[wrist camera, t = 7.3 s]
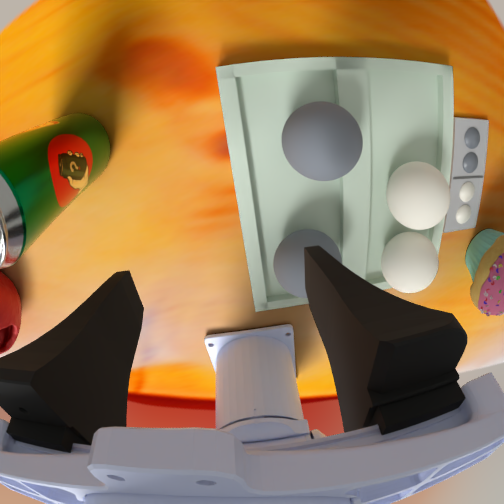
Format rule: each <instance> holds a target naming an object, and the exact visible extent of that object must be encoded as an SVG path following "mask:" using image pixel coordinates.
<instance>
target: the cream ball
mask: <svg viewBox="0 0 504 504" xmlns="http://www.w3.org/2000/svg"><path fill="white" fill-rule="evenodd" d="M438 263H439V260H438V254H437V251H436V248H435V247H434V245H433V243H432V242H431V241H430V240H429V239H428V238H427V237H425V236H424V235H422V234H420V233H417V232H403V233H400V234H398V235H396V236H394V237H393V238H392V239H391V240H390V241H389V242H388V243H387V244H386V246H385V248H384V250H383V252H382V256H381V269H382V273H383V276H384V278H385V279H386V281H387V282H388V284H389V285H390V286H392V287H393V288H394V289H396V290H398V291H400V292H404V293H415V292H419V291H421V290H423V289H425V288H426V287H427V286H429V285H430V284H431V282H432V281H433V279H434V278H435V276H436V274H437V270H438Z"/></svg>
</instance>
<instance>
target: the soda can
mask: <svg viewBox="0 0 504 504" xmlns="http://www.w3.org/2000/svg"><path fill="white" fill-rule="evenodd" d="M109 157H110V142H109V138H108V135H107V132H106V131H105V129H104V127H103V126H102V125H101V123H100V122H99V121H98V120H96V119H95V118H94V117H92V116H90V115H87V114H83V113H73V114H69V115H66V116H63V117H60V118H57V119H54V120H52V121H49V122H46V123H44V124H41V125H38V126H36V127H33V128H31V129H28V130H26V131H23V132H21V133H19V134H16V135H14V136H12V137H9V138H7V139H5V140H3V141H0V269H3V268H8V267H10V266H12V265H14V264H15V263H16V262H17V261H18V260H19V259H20V258H21V256H22V255H23V254H24V253H25V252H26V251H27V249H28V248H29V247H30V246H31V245H32V244H33V243H34V242H35V240H36V239H37V238H38V237H39V236H40V235H41V234H42V233H43V232H44V231H45V229H46V228H47V227H48V226H49V225H50V224H51V223H52V222H53V221H54V220H55V219H56V218H57V217H58V216H59V215H60V214H61V213H62V212H63V211H64V210H65V209H66V208H67V207H68V206H69V205H70V204H71V203H72V202H73V201H74V200H75V199H76V198H77V197H78V196H79V195H80V194H81V193H82V192H83V191H84V190H85V189H86V188H87V187H88V186H90V185H91V184H92V183H93V182H94V181H95V180H96V179H97V178H98V177H99V176H100V175H101V174H102V173H103V172H104V170H105V168H106V166H107V164H108V161H109Z"/></svg>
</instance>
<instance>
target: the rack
mask: <svg viewBox="0 0 504 504" xmlns="http://www.w3.org/2000/svg"><path fill="white" fill-rule="evenodd" d="M216 73H217V79H218V86H219V92H220V98H221V104H222V111H223V117H224V123H225V129H226V136H227V142H228V148H229V154H230V160H231V167H232V173H233V179H234V185H235V191H236V197H237V203H238V209H239V215H240V222H241V228H242V234H243V240H244V246H245V252H246V258H247V264H248V270H249V276H250V281H251V287H252V293H253V299H254V305H255V311H256V312H258V311H265V310H271V309H278V308H284V307H291V306H297V305H303V304H309V302H308V298H300V297H297V296H294V295H292V294H290V293H289V292H287V291H286V290H285V289H284V288H283V287H282V286H281V285H280V284H279V282H278V280H277V278H276V276H275V273H274V267H273V261H274V255H275V252H276V249H277V247H278V246H279V244H280V243H281V241H282V240H283V239H284V238H285V237H287V236H288V235H289V234H291V233H293V232H295V231H298V230H302V229H313V230H318V231H320V232H323V233H325V234H326V235H328V236H329V237H330V238H331V239H332V240H333V241H334V242H335V243H336V245H337V246H338V248H339V251H340V253H341V258H342V264H343V265H344V266H345V267H347V268H348V269H349V270H351V271H352V272H354V273H355V274H357V275H358V276H360V277H361V278H363V279H364V280H366V281H367V282H369V283H371V284H372V285H374V286H376V287H378V288H380V289H382V290H384V289H389V288H393V287H392V286H390V285H389V284H388V282H387V281H386V279H385V278H384V276H383V273H382V269H381V256H382V252H383V250H384V248H385V246H386V244H387V243H388V242H389V241H390V240H391V239H392V238H393V237H394V236H396V235H398V234H400V233H403V232H417V233H420V234H422V235H424V236H425V237H427V238H428V239H429V240H430V241H431V242H432V243H433V245H434V247H435V248H436V251H437V254H438V253H439V248H440V243H441V238H442V232H443V226H444V220H445V217H444V218H443V219H442V220H441V221H440V222H439V223H438V224H437V225H435V226H433V227H431V228H429V229H424V230H415V229H411V228H408V227H406V226H404V225H402V224H401V223H400V222H399V221H397V220H396V219H395V217H394V216H393V215H392V213H391V211H390V209H389V207H388V204H387V199H386V188H387V184H388V181H389V179H390V177H391V175H392V174H393V173H394V171H395V170H396V169H397V168H399V167H400V166H402V165H403V164H406V163H409V162H414V161H420V162H425V163H428V164H430V165H432V166H434V167H435V168H437V169H438V170H439V171H440V172H441V173H442V174H443V176H444V177H445V179H446V181H447V183H448V186H449V182H450V173H451V161H452V146H453V121H454V91H453V67H452V66H448V65H441V64H434V63H427V62H419V61H409V60H399V59H385V58H366V57H311V58H291V59H278V60H267V61H257V62H248V63H240V64H233V65H226V66H220V67H216ZM318 101H324V102H331V103H334V104H337V105H339V106H341V107H343V108H344V109H345V110H347V111H348V112H349V113H350V114H351V115H352V116H353V117H354V118H355V120H356V121H357V123H358V125H359V127H360V130H361V133H362V138H363V147H362V153H361V156H360V158H359V160H358V162H357V164H356V165H355V167H354V168H353V169H352V170H351V171H350V172H349V173H347V174H346V175H344V176H342V177H340V178H338V179H335V180H330V181H317V180H312V179H309V178H307V177H305V176H303V175H301V174H300V173H298V172H297V171H296V170H295V169H294V168H293V167H292V166H291V165H290V164H289V162H288V161H287V159H286V157H285V155H284V152H283V148H282V131H283V128H284V125H285V123H286V121H287V119H288V118H289V116H290V115H291V114H292V113H293V112H294V111H295V110H296V109H298V108H299V107H301V106H303V105H305V104H307V103H311V102H318Z"/></svg>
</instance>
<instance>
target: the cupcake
mask: <svg viewBox="0 0 504 504" xmlns="http://www.w3.org/2000/svg"><path fill="white" fill-rule="evenodd" d="M465 261H466V265H467V267H468V269H469V272H470V274H471V277H472V280H473V284H472V285H471V288H470V295H471V299H472V301H473V303H474V305H475V306H476V307H477V308H478V309H479V310H480V311H481V313H484V314H486V315H487V314H488V315H487V316H489V315H499V316H500V314H501V315H502V314H504V233H502V232H499V231H496V230H493V229H485V230H483V231H481V232H480V233H478V234H477V235H476V236H475V237H474V238H473V240H472V241H471V243H470V245H469V247H468V249H467V252H466V257H465Z"/></svg>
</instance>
